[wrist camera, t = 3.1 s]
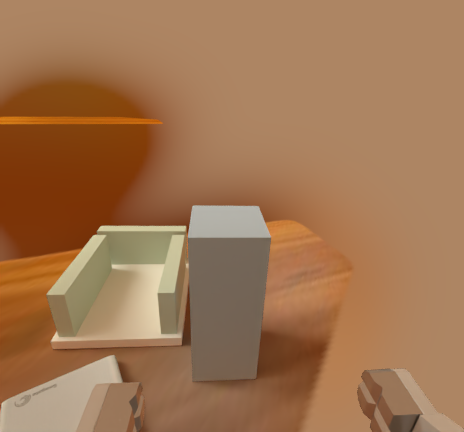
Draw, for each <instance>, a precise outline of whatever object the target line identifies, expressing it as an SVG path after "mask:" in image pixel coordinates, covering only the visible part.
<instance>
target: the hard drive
mask: <svg viewBox="0 0 464 432" xmlns="http://www.w3.org/2000/svg"><path fill="white" fill-rule="evenodd" d="M103 383H123V380H122V377H121V373H120V370H119V366H118V363H117V360H116V357H115V355H111V356H108V357H105V358H103V359H100V360H98V361H96V362H93V363H91V364H88V365H86V366H84V367H81V368H79V369H77V370H74V371H72V372H70V373H67V374H65V375H63V376H60V377H58V378H56V379H53V380H51V381H49V382H46V383H44V384H41V385H39V386H37V387H34V388H32V389H30V390H27V391H25V392H23V393H20V394H18V395H16V396H13V397H11V398H9V399H7V400H5V401H4V402H2V404H1V412H0V432H76V430H77V427H78V425H79V422H80V420H81V417H82V415H83V412H84V410H85V407H86V405H87V402H88V400H89V397H90V395H91V392H92V390H93V388H94V387H95V385H96V384H103Z"/></svg>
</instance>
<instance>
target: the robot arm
mask: <svg viewBox="0 0 464 432" xmlns="http://www.w3.org/2000/svg"><path fill="white" fill-rule="evenodd" d="M361 377H362V379H363V382H362V383H361V384H360V385H359V387H358V392H357V393H358V400H359V403H360V407H361V409H362V411H363V413H364V414H365V415H366V416H367V417H368V418H369V419H370V420H371V424H370V428H371V430H372V432H464V429H463V428H462V427H461V426H459V425H458V424H457V423H455V422H454V421H452V420H451V419H450V418H448V417H447V416H445V415H444V414H443V413H442V414H439V413H438V412H437V410H436V409H435V408H434V406H433V405H432V403H431V402H430V401H429V399H428V398H427V397H426V395H425V394H424V392H423V391H422V389H421V388H420V387H419V385H418V384H417V382H416V381H415V380H414V378H413V377H412V375H411V374H410V373H409V371H407V370H406V369H404V368H400V369H379V370H365V371H364V372H363V373H362V376H361ZM142 389H143V388H142V383H141V382H132V383H103V384H96V385H95V387H94V388H93V390H92V392H91V395H90V397H89V400H88V402H87V405H86V407H85V410H84V412H83V415H82V417H81V420H80V422H79V425H78V427H77V430H76V432H139V430H140V429H141V428H142V424H143V419H144V411H145V400H144V396H142V395H141V393H142Z"/></svg>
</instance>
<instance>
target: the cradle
mask: <svg viewBox="0 0 464 432" xmlns="http://www.w3.org/2000/svg"><path fill="white" fill-rule="evenodd" d="M97 234H98V235H94V236H93V237H92V238H91V240H90V241H89V242H88V243H87V244H86V246H85V247H84V248H83V249H82V251H81V252H80V253H79V254H78V256H77V257H76V258H75V259H74V261H73V262H72V263H71V264H70V266H69V267H68V268H67V269H66V271H65V272H64V273H63V274H62V276H61V277H60V278H59V279H58V281H57V282H56V283H55V284H54V286H53V287H52V288H51V289H50V291H49V292H48V293H47V294H46V296H47V299H48V303H49V306H50V309H51V313H52V316H53V320H54V323H55V326H56V330H57V332H56V333H55V335H54V337H53V338H52V340H51V341H50V342H51V345H52V348H53V349H79V348H111V347H144V346H176V345H182V339H183V330H184V322H185V313H186V304H187V295H188V286H189V261H188V258H187V235H186V226H101V227H100V228H99V230H98V231H97Z"/></svg>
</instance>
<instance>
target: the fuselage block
mask: <svg viewBox="0 0 464 432" xmlns="http://www.w3.org/2000/svg"><path fill="white" fill-rule="evenodd" d="M270 243H271V236H270V234H269V231H268V229H267V226H266V224H265V221H264V219H263V216H262V214H261V212H260V209H259V207H258V206H193V207H192V213H191V221H190V227H189V233H188V261H189V291H190V321H191V351H192V381H193V382H194V381H218V380H242V379H256V376H257V366H258V357H259V347H260V338H261V328H262V319H263V309H264V300H265V290H266V281H267V271H268V262H269V252H270Z"/></svg>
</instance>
